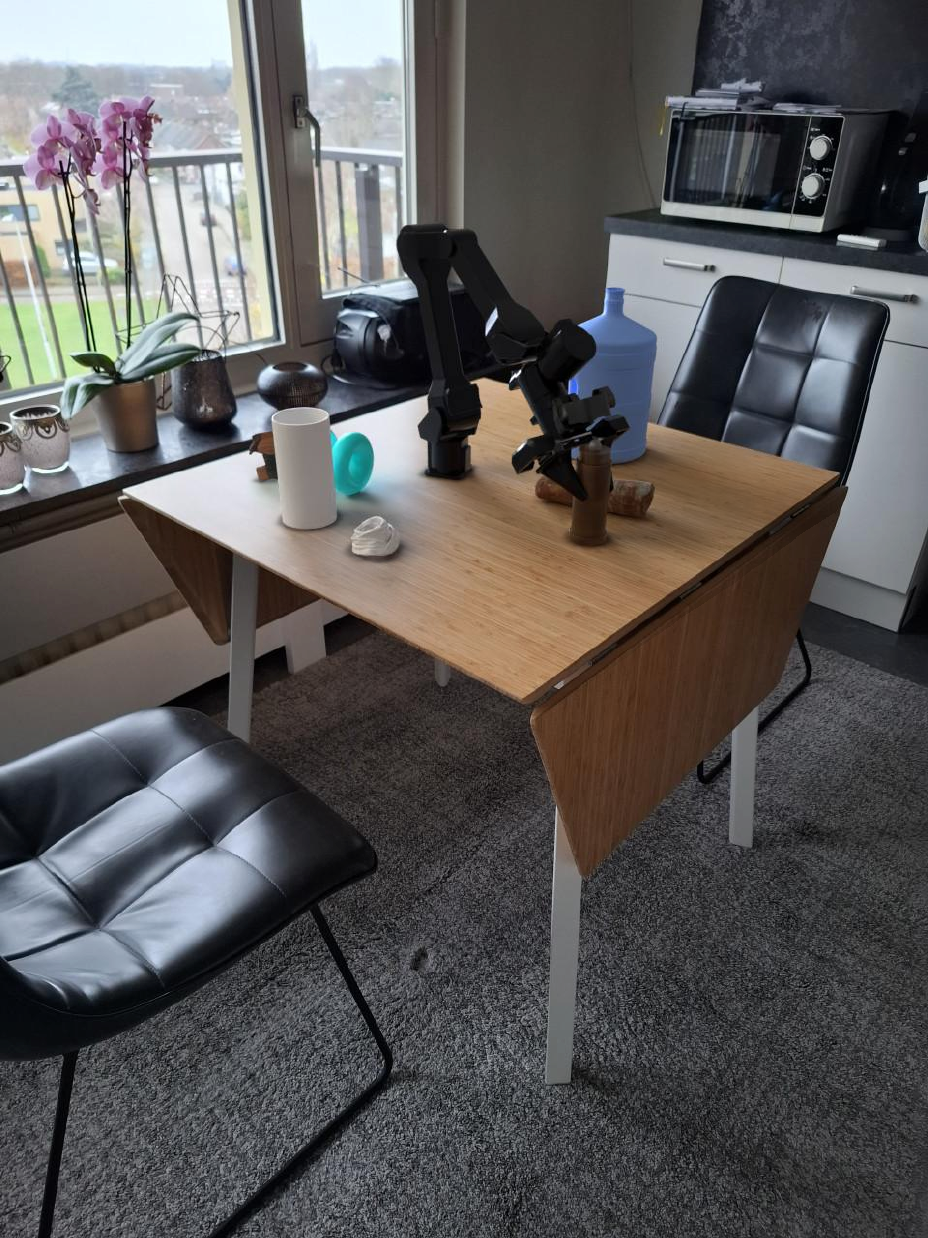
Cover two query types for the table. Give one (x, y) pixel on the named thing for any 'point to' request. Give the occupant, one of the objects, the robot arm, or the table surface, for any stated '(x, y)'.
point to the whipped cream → (374, 538)
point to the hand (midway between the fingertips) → (598, 495)
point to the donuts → (351, 462)
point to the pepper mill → (591, 495)
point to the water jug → (620, 373)
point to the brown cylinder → (622, 500)
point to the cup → (305, 467)
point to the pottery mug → (265, 455)
